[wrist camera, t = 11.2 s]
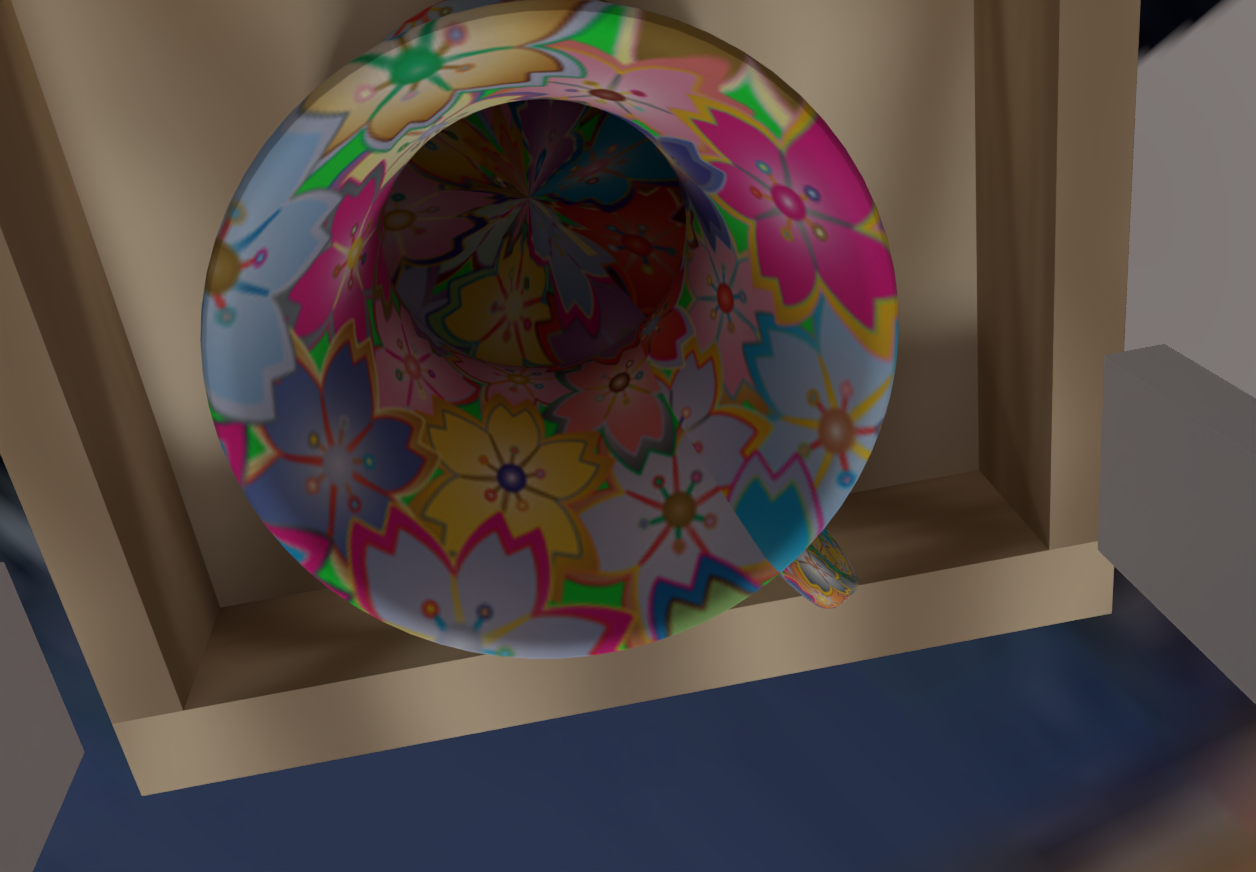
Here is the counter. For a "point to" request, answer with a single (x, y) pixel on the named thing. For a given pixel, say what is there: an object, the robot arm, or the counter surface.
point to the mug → (552, 330)
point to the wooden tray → (550, 688)
